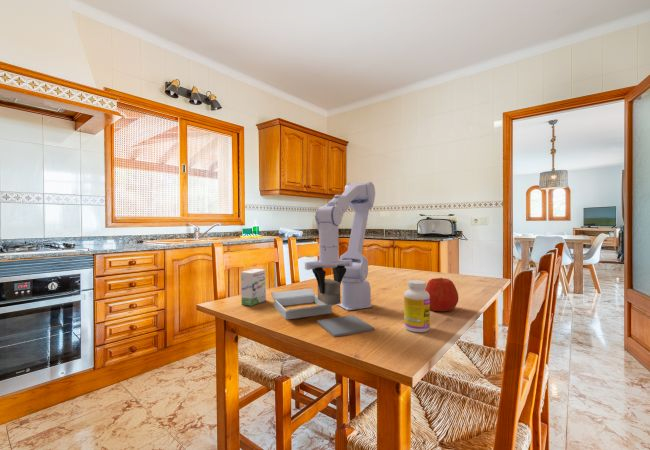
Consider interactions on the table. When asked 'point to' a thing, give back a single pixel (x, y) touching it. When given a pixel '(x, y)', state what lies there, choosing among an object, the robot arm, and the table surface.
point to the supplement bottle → (417, 307)
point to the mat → (344, 325)
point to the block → (330, 293)
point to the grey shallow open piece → (299, 298)
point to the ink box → (253, 286)
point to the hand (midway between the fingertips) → (329, 292)
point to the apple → (442, 294)
